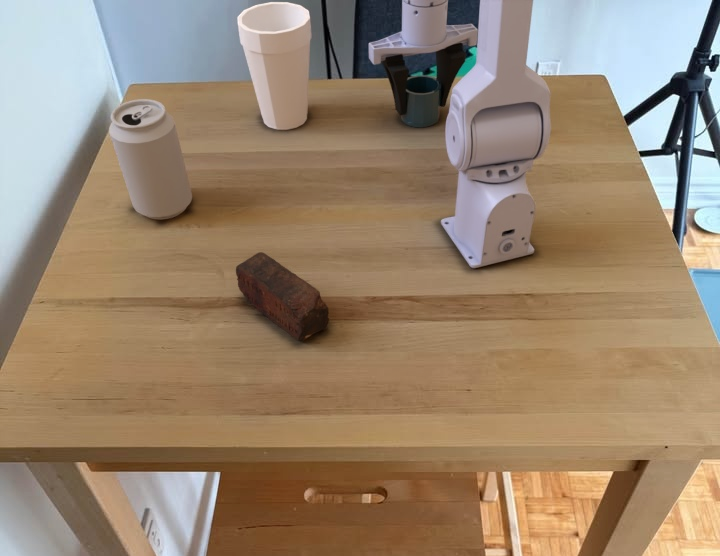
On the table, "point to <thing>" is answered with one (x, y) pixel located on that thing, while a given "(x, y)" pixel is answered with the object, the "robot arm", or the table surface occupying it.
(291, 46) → the foam cup
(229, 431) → the table surface
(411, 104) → the cup
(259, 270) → the brick
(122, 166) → the can
